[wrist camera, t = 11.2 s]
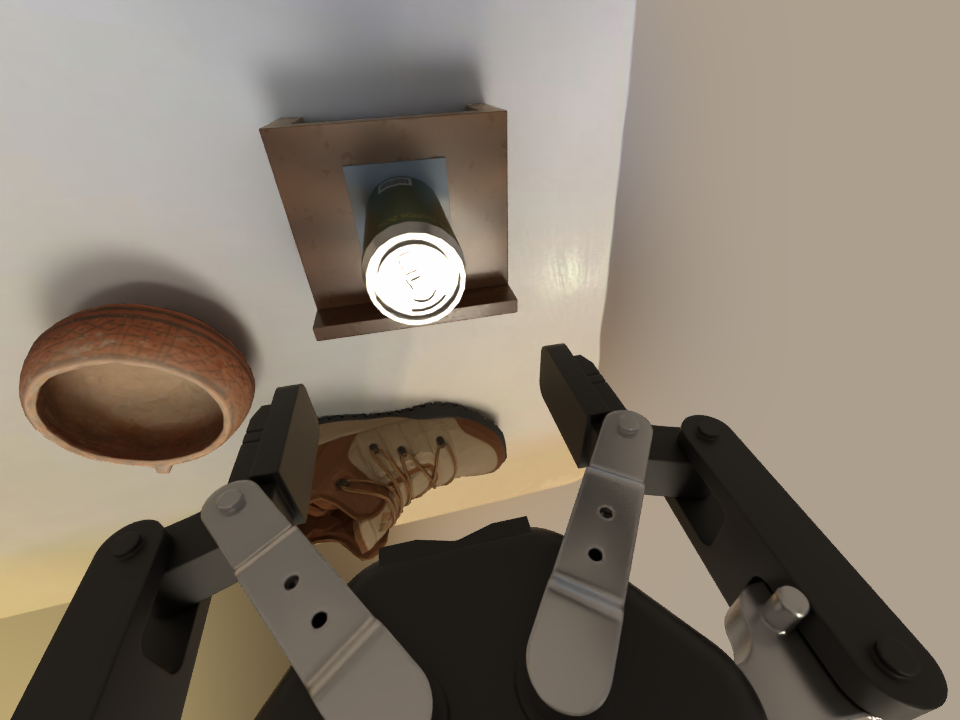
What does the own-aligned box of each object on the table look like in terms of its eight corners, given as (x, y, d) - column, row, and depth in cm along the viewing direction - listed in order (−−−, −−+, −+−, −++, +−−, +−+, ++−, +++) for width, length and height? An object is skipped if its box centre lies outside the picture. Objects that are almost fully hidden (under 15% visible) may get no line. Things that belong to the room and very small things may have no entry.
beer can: (351, 193, 28) (337, 257, 19) (421, 160, 28) (443, 207, 18) (389, 260, 31) (394, 343, 22) (452, 231, 31) (485, 303, 21)
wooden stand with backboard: (279, 117, 31) (245, 135, 23) (485, 103, 33) (519, 114, 25) (329, 285, 39) (317, 341, 31) (490, 265, 41) (517, 312, 33)
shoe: (493, 457, 58) (519, 554, 46) (286, 463, 51) (255, 577, 40) (506, 402, 52) (540, 496, 40) (277, 401, 46) (237, 513, 34)
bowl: (186, 433, 45) (145, 511, 37) (29, 337, 36) (-69, 413, 28) (297, 366, 43) (279, 433, 35) (162, 246, 34) (97, 300, 26)
